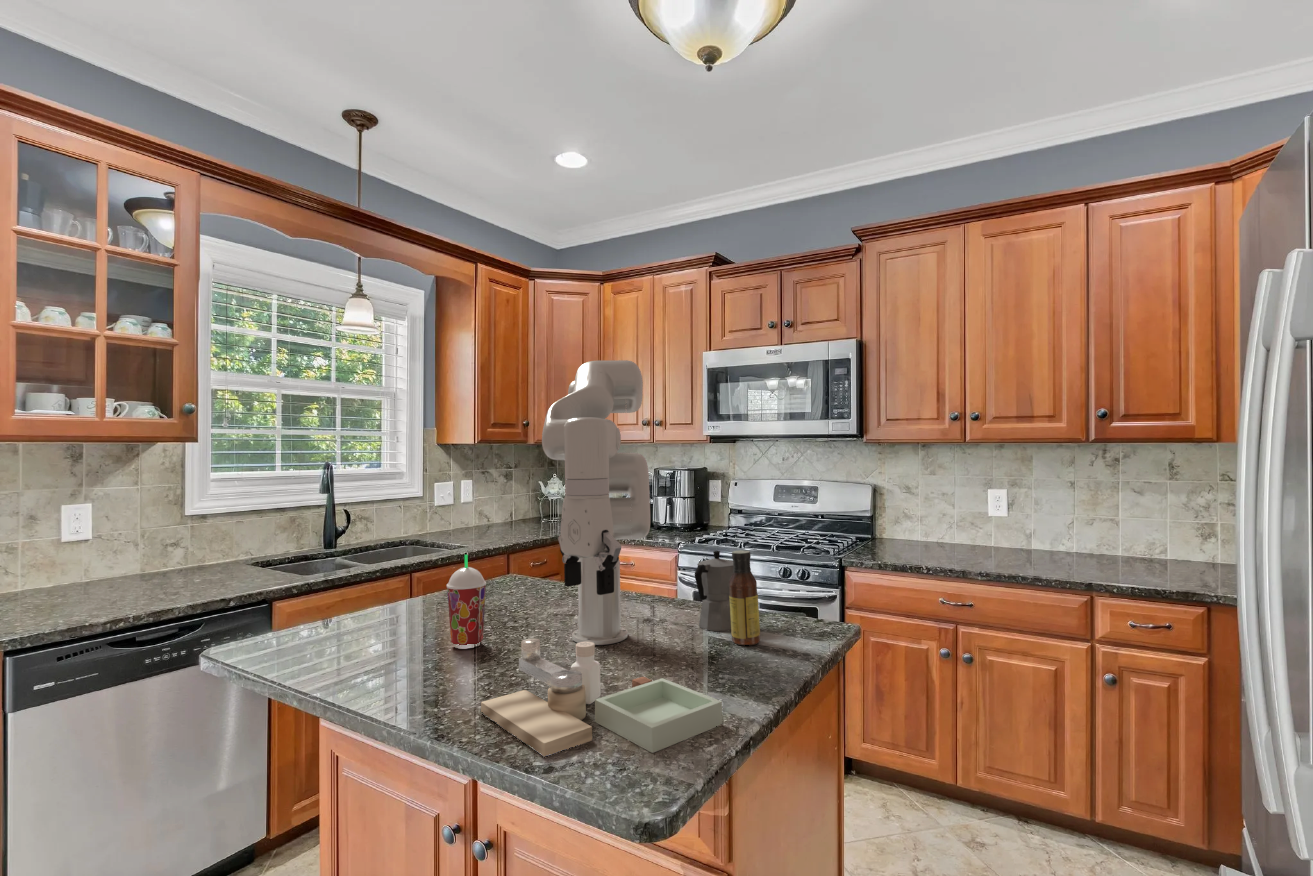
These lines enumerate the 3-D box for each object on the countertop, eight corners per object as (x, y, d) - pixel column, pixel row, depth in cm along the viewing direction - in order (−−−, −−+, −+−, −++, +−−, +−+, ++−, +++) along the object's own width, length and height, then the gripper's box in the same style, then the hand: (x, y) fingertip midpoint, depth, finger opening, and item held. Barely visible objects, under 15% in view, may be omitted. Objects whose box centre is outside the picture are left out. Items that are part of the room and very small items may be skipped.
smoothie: (494, 642, 145) (493, 552, 146) (472, 653, 137) (470, 558, 138) (462, 639, 148) (461, 551, 148) (439, 650, 140) (438, 557, 140)
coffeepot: (716, 617, 163) (715, 545, 164) (749, 623, 157) (747, 548, 158) (680, 631, 151) (679, 554, 151) (714, 638, 145) (713, 557, 146)
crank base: (481, 714, 105) (480, 687, 105) (614, 675, 123) (613, 652, 123) (544, 757, 90) (543, 726, 90) (686, 706, 107) (685, 679, 107)
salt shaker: (569, 702, 110) (568, 646, 110) (581, 694, 113) (581, 639, 113) (590, 706, 108) (589, 648, 108) (601, 697, 112) (601, 642, 112)
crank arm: (588, 688, 104) (587, 656, 104) (561, 696, 101) (561, 663, 101) (539, 664, 116) (538, 636, 116) (513, 671, 113) (513, 642, 113)
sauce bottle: (759, 638, 145) (757, 549, 145) (761, 647, 138) (759, 553, 139) (729, 638, 145) (728, 549, 146) (730, 646, 139) (728, 553, 139)
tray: (595, 722, 102) (594, 699, 102) (662, 698, 111) (662, 678, 111) (652, 753, 91) (651, 727, 91) (722, 724, 100) (721, 701, 100)
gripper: (542, 489, 116) (543, 585, 115) (598, 492, 103) (600, 600, 102) (577, 487, 121) (578, 579, 120) (635, 489, 108) (637, 593, 107)
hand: (588, 589), depth 111 cm, fingers open, 9 cm apart
